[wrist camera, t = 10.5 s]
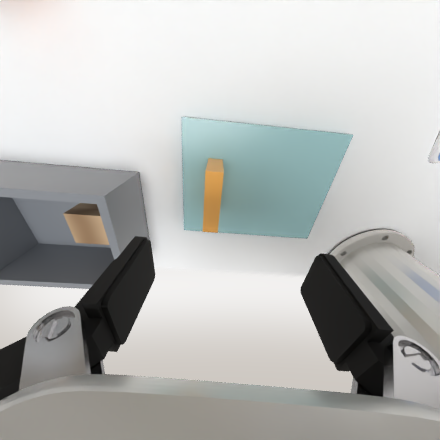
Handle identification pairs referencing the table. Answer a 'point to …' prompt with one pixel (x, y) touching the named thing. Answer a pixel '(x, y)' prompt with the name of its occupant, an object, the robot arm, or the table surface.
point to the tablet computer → (435, 152)
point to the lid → (256, 176)
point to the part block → (86, 224)
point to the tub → (63, 222)
